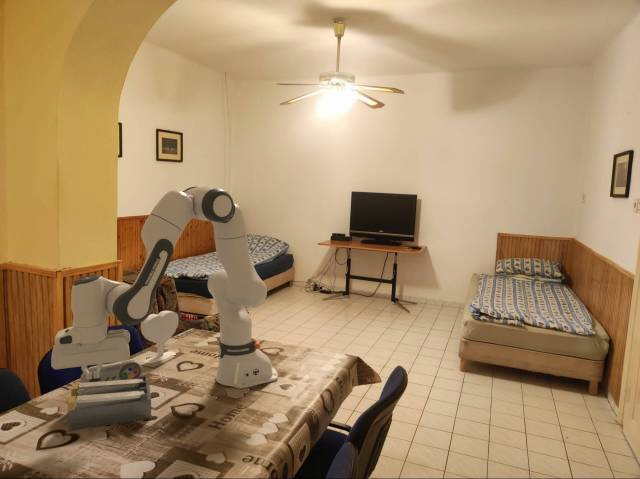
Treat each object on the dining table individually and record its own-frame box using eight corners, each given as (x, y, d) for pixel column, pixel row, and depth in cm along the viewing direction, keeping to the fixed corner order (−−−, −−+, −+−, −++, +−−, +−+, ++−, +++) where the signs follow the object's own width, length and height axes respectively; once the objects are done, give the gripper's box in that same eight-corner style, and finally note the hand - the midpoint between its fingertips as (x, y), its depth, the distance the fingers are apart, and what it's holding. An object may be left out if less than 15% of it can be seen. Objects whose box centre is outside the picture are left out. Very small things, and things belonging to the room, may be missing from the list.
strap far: (143, 382, 153) (144, 378, 153) (144, 386, 150) (144, 382, 150) (79, 387, 146) (79, 383, 146) (78, 391, 143) (78, 387, 143)
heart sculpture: (171, 350, 198) (171, 308, 195) (180, 352, 195) (179, 310, 193) (139, 361, 184) (139, 316, 182) (148, 364, 182) (147, 319, 179)
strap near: (145, 394, 145) (145, 390, 145) (145, 398, 142) (145, 394, 142) (77, 400, 137) (77, 395, 137) (76, 404, 135) (76, 400, 135)
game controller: (81, 394, 157) (80, 370, 155) (80, 391, 158) (79, 368, 157) (142, 381, 168) (142, 359, 166) (141, 379, 169) (140, 356, 168)
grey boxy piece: (148, 397, 156) (148, 373, 154) (151, 419, 142) (151, 393, 141) (73, 408, 147) (72, 382, 146) (68, 432, 134) (67, 404, 133)
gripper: (129, 324, 142) (131, 368, 144) (51, 332, 134) (54, 378, 136) (129, 331, 136) (131, 377, 138) (48, 340, 128) (51, 388, 130)
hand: (93, 378), depth 137 cm, fingers closed
